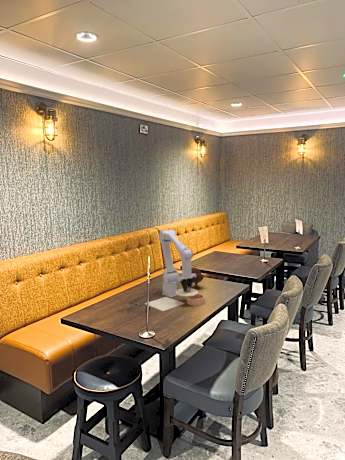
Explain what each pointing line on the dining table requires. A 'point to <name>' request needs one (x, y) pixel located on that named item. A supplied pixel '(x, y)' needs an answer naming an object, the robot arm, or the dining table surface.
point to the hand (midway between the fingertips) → (187, 290)
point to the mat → (164, 303)
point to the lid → (187, 292)
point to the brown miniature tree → (197, 277)
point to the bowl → (196, 300)
